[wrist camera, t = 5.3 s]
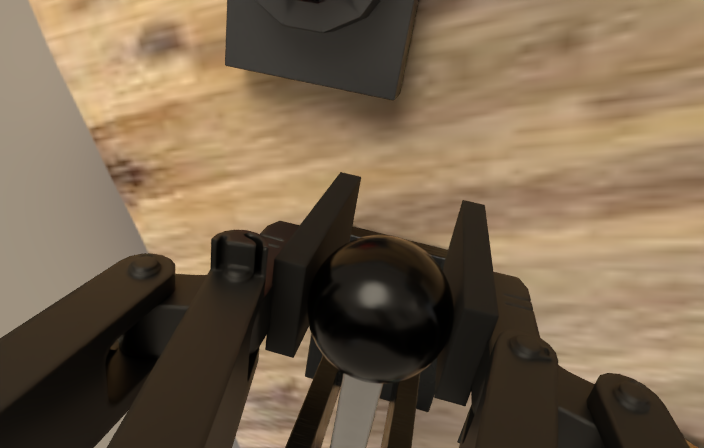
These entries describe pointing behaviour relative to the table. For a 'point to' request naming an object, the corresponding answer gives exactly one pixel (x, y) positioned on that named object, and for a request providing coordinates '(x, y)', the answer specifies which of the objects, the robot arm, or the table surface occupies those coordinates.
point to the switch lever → (377, 323)
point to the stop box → (324, 41)
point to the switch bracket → (400, 394)
